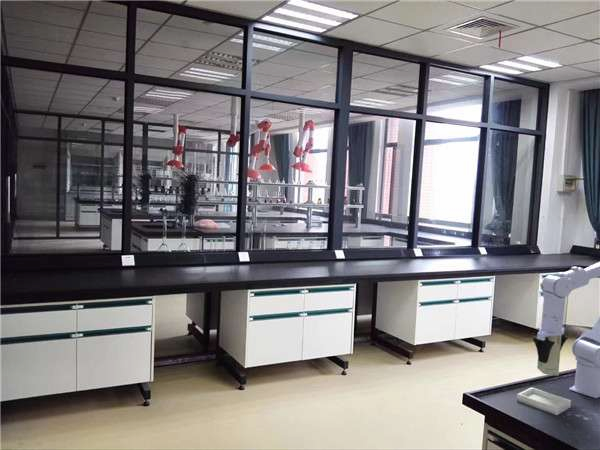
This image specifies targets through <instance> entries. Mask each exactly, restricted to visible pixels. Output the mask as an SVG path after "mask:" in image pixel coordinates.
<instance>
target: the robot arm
mask: <svg viewBox="0 0 600 450" xmlns="http://www.w3.org/2000/svg"><path fill="white" fill-rule="evenodd" d="M595 278H600V261H598V262H596V263H594V264H592V265H589V266H588V267H586V268H583V267H581V266H579V267H578V266H576V265H575V266H572V267H571V268H570V269H569V270H567V271H563V272H562V271H561V272H558V274H556V275H554V274H553V275H552V274H549V275H547V276H546V277H544V278H543V280H542V281H541V283H540V285H539V286H540V289H541V291H542V297H543V304H542V313H541V314H542V316H541V325H540V326H537V327H536V330H538V332H537V334H536V336H533V337H532V338H533V339H532V341H533V343H534V345H535V348H536V352H537V360H538V359H539V362H543V363H547V361H548V358H549V354H550V350H551V348H552V346H553V345H554V343H555V342H552V341H549V339H548V338H547V336H559V335H561V348H560V352H561V351H562V349H563V346H564V344H565V343H566V341H567V340H568V335H565V327H564V317H565V305H566V298H567V297H568V296H570V294H571V292H572V291H574V290H577V289H579V288H582V287H584V286H587V285H589V283H590V280H592V279H595ZM596 320H597V321H596V322H595V323H594V325H593V327H592V328H591V329H590V330H589V331H585V332H582V333H581V335H580V336H579V338H577V339H575V341H574V342H573V343H572V345H571V353H572V354H573V356H575V358H574V359H575V361H576V364H575V365H576V368H575V377H574V385H573V386H571V387H569V388H568V390H570V391H573V392H575V393H579V394H582V395H585V396H588V397H591V398H594V399H599V398H600V316H599V317H598V319H596Z"/></svg>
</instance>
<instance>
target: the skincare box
mask: <svg viewBox="0 0 600 450" xmlns="http://www.w3.org/2000/svg"><path fill="white" fill-rule="evenodd" d="M547 338H548V339H549V341H552V342H555V343H554V345H553V346H552V348H551V350H550V354H549V358H548V361H547V363H543V362H539V359H538V358H537V365H536V368H537V369H538V371H540V372H541V373H542V374H543V375H550V376H557V377H558V376H559V375H560V374H559V372H560V359H561V351H560V348H561V335H559V336H547Z"/></svg>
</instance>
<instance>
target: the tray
mask: <svg viewBox="0 0 600 450" xmlns="http://www.w3.org/2000/svg"><path fill="white" fill-rule="evenodd" d="M516 401H517V402H520V403H522V404H525V405H528V406H530V407H532V408H536V409H538V410H542V411H544V412H546V413H550V414H553V415H554V416H555V415H556V416H558V415H560V414H562V413H563V412H565V411H567V410H568V409H569V408H571V405H572V400H571V399H569V398H565V397H563V396H559V395H557V394H553V393H551V392H547V391H544V390H541V389H538V388H535V387H533V386H532V387H529V388H527V389H525V390H523V391H521V392H519V393H517V394H516Z"/></svg>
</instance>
